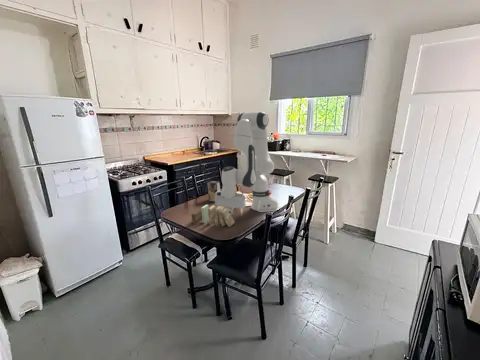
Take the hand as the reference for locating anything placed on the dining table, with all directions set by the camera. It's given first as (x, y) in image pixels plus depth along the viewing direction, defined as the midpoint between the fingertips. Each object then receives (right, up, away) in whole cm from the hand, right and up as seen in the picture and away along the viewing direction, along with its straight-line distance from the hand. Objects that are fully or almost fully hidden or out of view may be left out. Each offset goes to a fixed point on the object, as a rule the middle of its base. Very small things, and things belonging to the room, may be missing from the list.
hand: (230, 213), depth 149 cm
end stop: (-22, -7, +12) cm, 26 cm away
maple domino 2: (-8, -8, +6) cm, 12 cm away
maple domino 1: (-12, -7, +8) cm, 16 cm away
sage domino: (-17, -7, +10) cm, 21 cm away
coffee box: (-15, +4, +49) cm, 51 cm away
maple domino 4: (+1, -8, +2) cm, 8 cm away
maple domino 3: (-4, -8, +4) cm, 9 cm away
